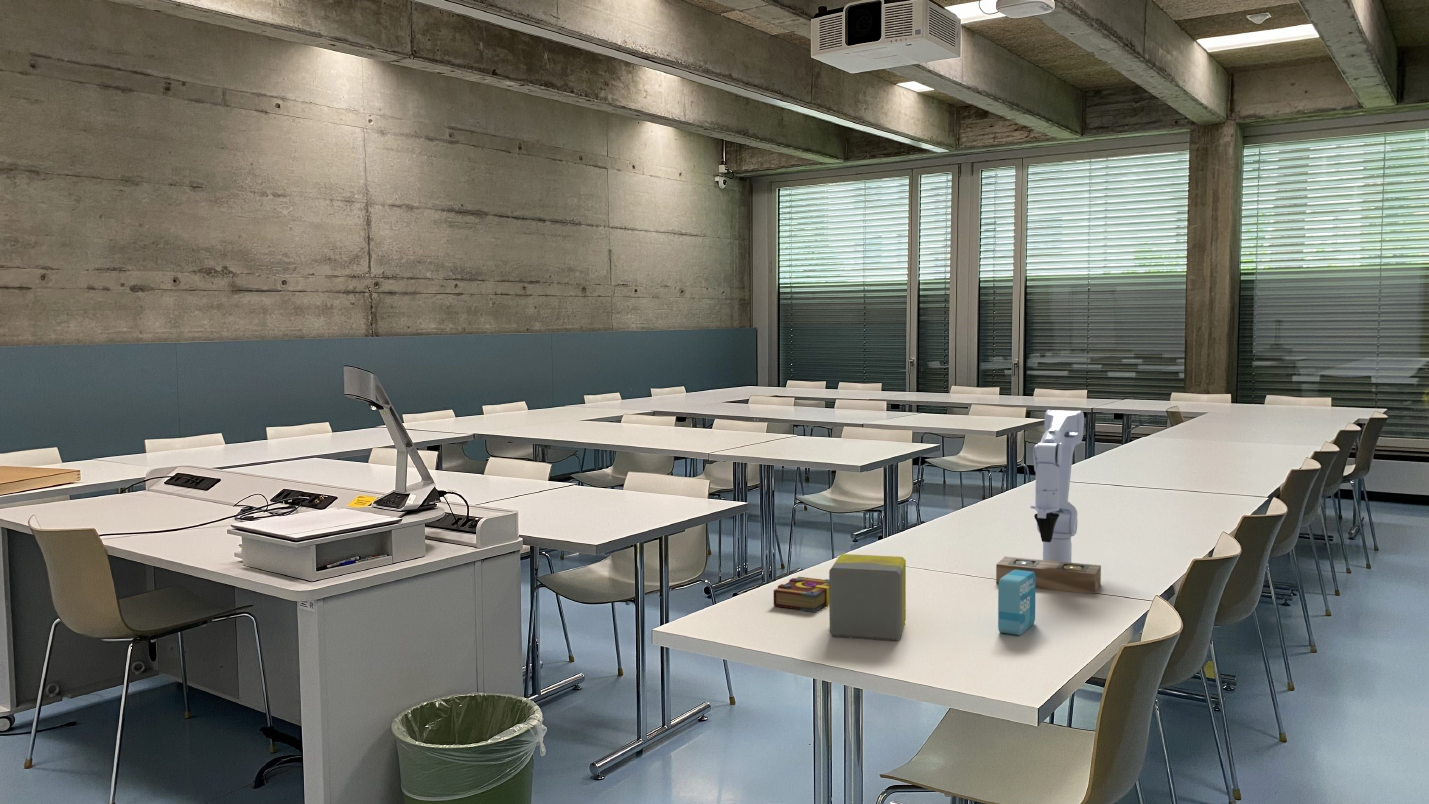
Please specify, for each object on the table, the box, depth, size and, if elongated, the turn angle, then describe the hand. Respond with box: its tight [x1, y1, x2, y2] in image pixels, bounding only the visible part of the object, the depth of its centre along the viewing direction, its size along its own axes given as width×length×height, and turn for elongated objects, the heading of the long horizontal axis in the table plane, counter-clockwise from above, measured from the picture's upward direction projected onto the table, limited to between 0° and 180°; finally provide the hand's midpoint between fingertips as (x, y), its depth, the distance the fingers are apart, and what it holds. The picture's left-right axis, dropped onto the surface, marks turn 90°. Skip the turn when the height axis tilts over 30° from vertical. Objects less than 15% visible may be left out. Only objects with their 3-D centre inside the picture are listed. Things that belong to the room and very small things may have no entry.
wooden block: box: [995, 556, 1102, 595], centre depth 258 cm, size 10×24×5 cm, turn 61°
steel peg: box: [1016, 561, 1033, 565], centre depth 261 cm, size 4×4×4 cm
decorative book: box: [773, 576, 829, 614], centre depth 245 cm, size 11×16×5 cm
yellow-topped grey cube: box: [828, 553, 907, 642], centre depth 226 cm, size 15×24×15 cm, turn 164°
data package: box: [997, 570, 1036, 636], centre depth 220 cm, size 12×4×12 cm, turn 146°
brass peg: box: [1064, 565, 1082, 570], centre depth 255 cm, size 4×4×4 cm
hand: (1046, 541), depth 260 cm, fingers closed
